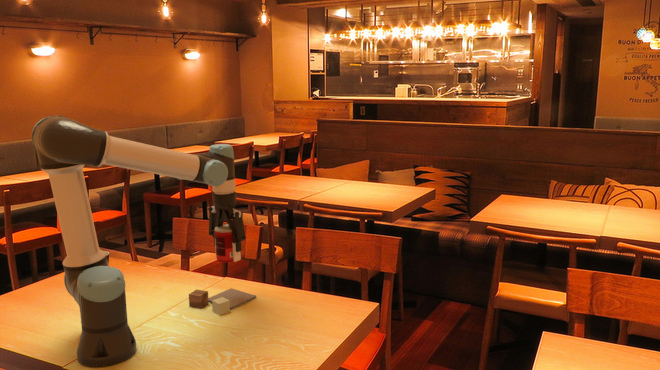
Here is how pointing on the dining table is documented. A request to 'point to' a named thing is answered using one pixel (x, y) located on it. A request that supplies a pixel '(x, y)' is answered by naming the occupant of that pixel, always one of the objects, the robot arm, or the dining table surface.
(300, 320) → the dining table surface
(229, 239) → the canned food
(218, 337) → the dining table surface
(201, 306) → the walnut block
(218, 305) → the beige block
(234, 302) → the slate coaster
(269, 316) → the dining table surface
